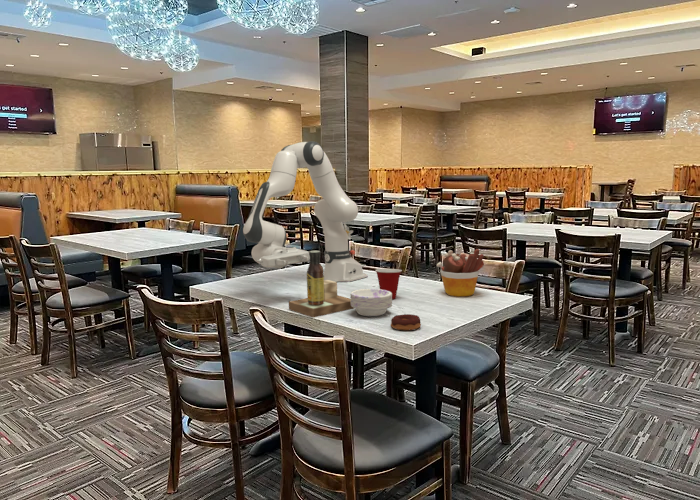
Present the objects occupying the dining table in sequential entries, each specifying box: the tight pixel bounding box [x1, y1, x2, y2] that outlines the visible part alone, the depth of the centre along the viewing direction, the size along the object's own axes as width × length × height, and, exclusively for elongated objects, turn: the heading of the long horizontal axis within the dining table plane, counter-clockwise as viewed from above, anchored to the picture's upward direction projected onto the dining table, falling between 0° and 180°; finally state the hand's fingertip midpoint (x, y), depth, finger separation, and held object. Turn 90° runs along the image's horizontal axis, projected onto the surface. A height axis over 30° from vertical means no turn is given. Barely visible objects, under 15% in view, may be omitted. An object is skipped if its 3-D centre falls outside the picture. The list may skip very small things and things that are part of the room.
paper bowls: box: [349, 288, 393, 317], centre depth 196 cm, size 15×15×8 cm
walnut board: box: [288, 294, 355, 319], centre depth 204 cm, size 20×16×3 cm
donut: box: [390, 313, 422, 332], centre depth 178 cm, size 10×10×4 cm
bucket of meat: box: [436, 248, 485, 298], centre depth 222 cm, size 20×16×20 cm
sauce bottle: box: [306, 249, 324, 305], centre depth 198 cm, size 7×6×20 cm
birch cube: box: [324, 280, 338, 300], centre depth 210 cm, size 6×6×6 cm
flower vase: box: [322, 222, 354, 241], centre depth 287 cm, size 13×18×25 cm
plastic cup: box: [374, 268, 403, 300], centre depth 219 cm, size 11×11×12 cm
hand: (296, 261), depth 208 cm, fingers open, 8 cm apart
